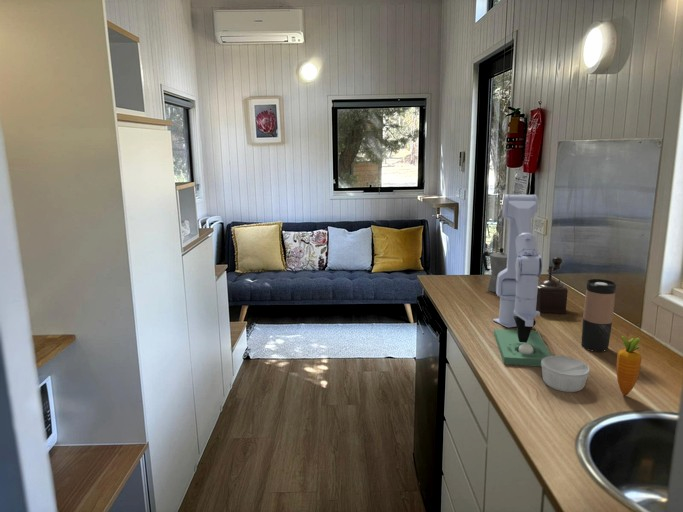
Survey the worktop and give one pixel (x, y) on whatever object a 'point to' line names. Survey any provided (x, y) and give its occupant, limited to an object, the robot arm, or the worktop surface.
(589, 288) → the travel mug
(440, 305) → the worktop surface
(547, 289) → the manual coffee grinder
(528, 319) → the robot arm
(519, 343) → the putting mat
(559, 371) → the ramekin
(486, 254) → the coffeepot
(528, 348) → the ball
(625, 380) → the carrot
